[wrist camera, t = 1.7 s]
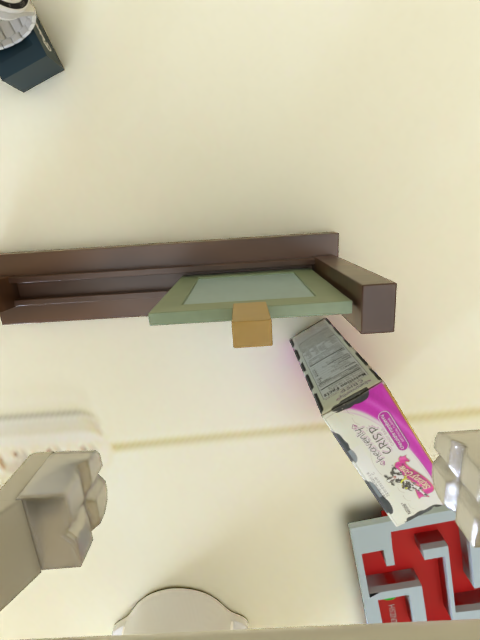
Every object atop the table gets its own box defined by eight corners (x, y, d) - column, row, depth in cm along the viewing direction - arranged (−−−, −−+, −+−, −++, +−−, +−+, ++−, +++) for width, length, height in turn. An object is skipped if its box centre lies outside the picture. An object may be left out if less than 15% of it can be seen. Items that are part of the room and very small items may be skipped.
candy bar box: (376, 392, 42) (459, 500, 26) (337, 414, 43) (395, 532, 27) (327, 313, 39) (386, 380, 23) (286, 337, 40) (318, 419, 24)
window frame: (333, 299, 39) (401, 363, 22) (13, 319, 39) (-147, 395, 23) (333, 231, 37) (408, 246, 21) (-3, 253, 37) (-190, 284, 21)
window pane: (310, 278, 36) (375, 339, 19) (183, 286, 36) (132, 354, 19) (309, 264, 36) (376, 313, 18) (181, 272, 36) (128, 328, 18)
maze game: (510, 671, 55) (526, 699, 51) (378, 692, 56) (386, 720, 53) (501, 477, 45) (521, 496, 42) (342, 507, 46) (349, 528, 43)
